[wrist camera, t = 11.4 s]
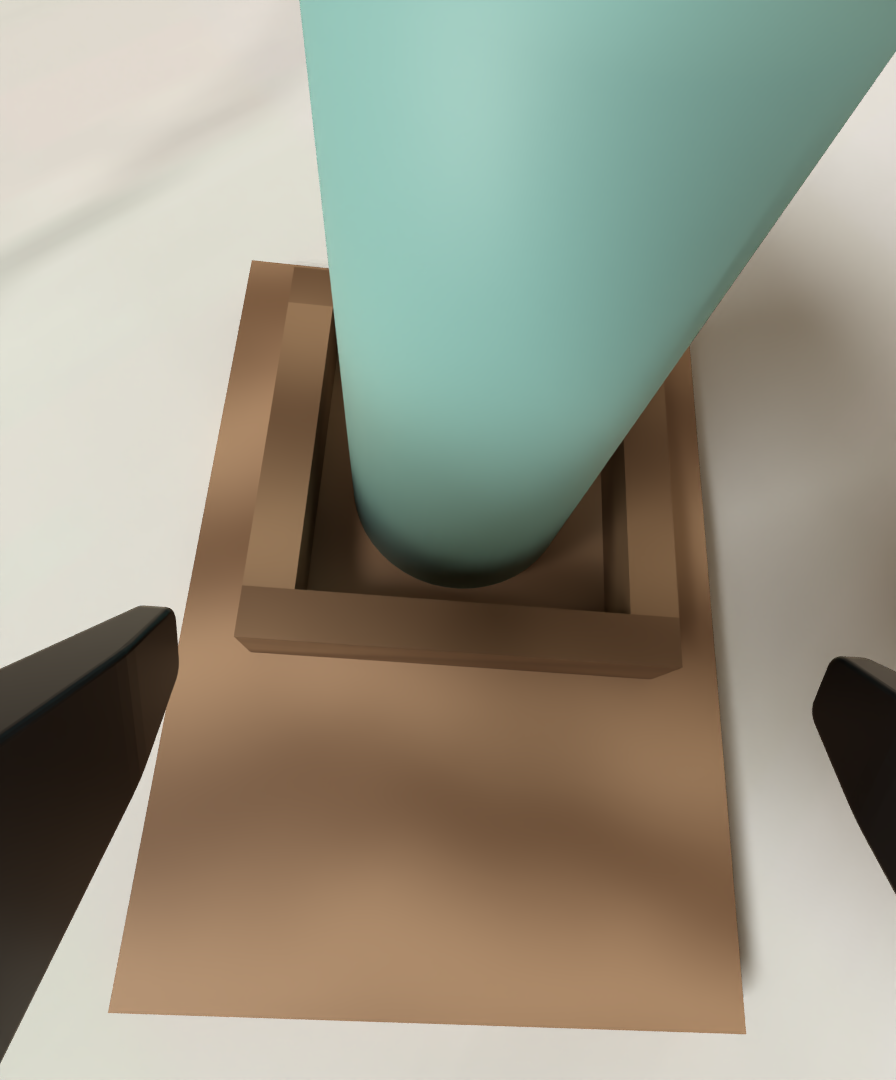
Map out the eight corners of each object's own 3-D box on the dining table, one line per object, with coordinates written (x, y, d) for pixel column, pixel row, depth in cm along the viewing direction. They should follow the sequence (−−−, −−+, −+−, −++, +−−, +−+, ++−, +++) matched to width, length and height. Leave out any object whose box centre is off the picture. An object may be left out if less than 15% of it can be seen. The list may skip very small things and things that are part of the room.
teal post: (599, 459, 20) (1027, -180, 7) (500, 630, 18) (829, 205, 5) (425, 361, 20) (499, -403, 7) (310, 515, 18) (122, -151, 5)
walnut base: (715, 1012, 17) (796, 1070, 13) (132, 992, 16) (65, 1048, 12) (668, 334, 23) (714, 261, 20) (260, 292, 22) (239, 209, 19)
